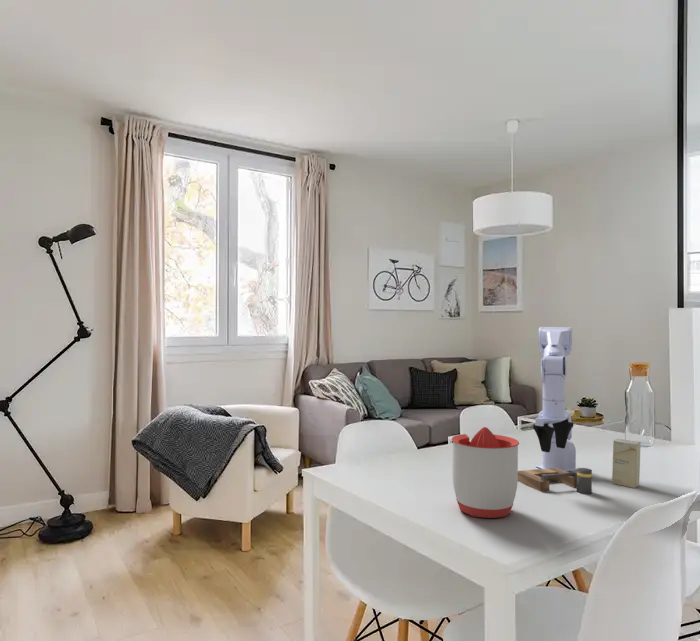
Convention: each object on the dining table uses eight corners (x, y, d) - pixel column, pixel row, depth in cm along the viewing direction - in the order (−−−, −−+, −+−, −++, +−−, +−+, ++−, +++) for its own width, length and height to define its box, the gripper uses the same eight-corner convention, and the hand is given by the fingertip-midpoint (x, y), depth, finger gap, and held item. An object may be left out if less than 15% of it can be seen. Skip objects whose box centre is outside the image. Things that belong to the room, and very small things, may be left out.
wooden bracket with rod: (556, 476, 162) (556, 462, 162) (582, 486, 151) (582, 472, 151) (515, 479, 157) (515, 466, 157) (539, 491, 147) (540, 476, 147)
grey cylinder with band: (585, 489, 149) (585, 467, 149) (595, 493, 145) (595, 470, 145) (573, 490, 148) (573, 468, 148) (583, 494, 144) (583, 471, 144)
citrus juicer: (504, 498, 141) (504, 420, 141) (528, 522, 123) (529, 433, 124) (443, 498, 140) (444, 419, 140) (459, 523, 123) (460, 433, 123)
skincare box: (611, 483, 154) (612, 440, 155) (616, 480, 158) (616, 438, 158) (636, 488, 150) (636, 443, 150) (640, 485, 154) (640, 441, 154)
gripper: (554, 396, 158) (554, 443, 158) (525, 400, 149) (525, 450, 149) (577, 399, 153) (577, 448, 153) (549, 403, 144) (548, 455, 143)
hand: (553, 449), depth 150 cm, fingers open, 7 cm apart
